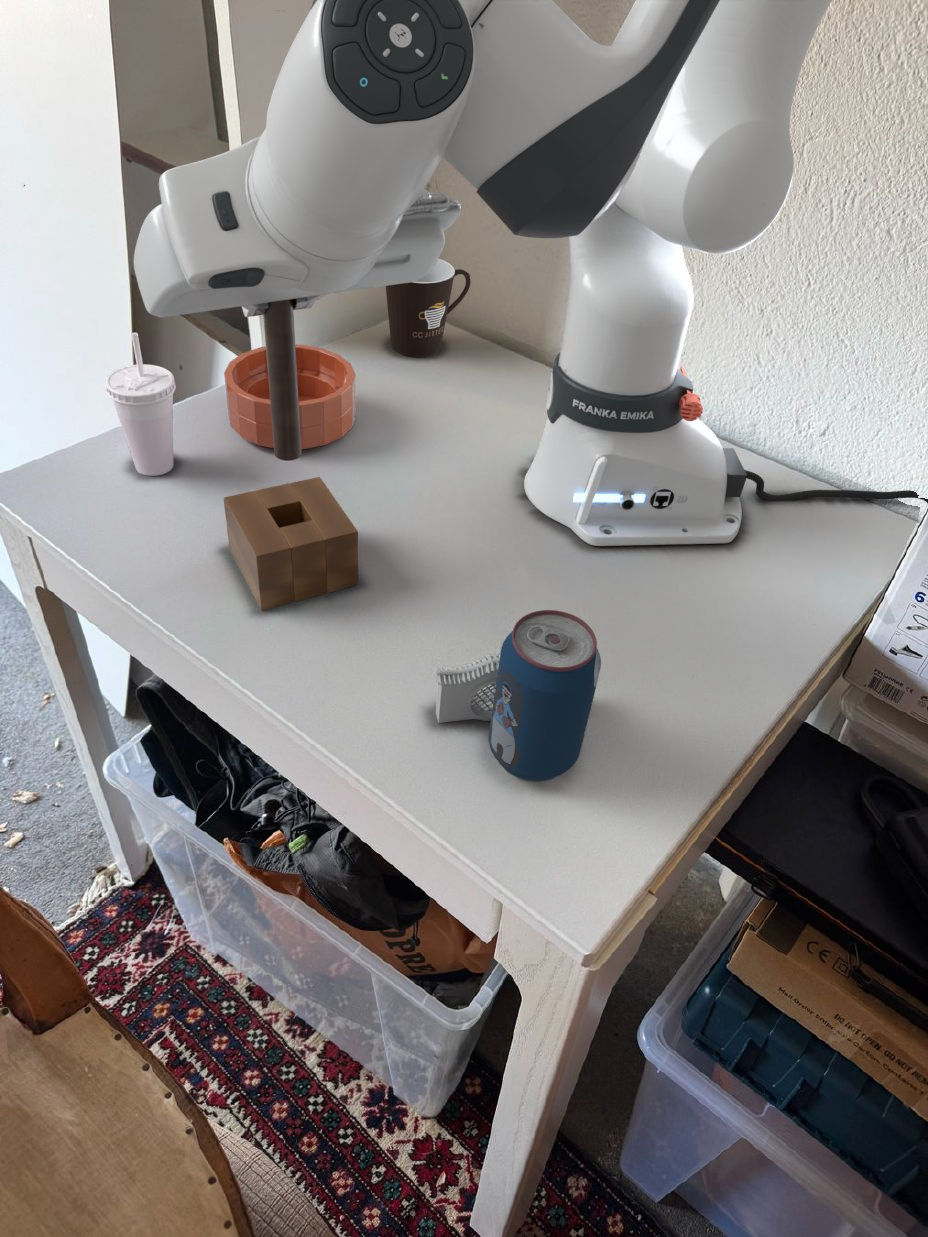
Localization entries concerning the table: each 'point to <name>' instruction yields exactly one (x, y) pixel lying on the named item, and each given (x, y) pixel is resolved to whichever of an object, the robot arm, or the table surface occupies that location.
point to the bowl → (319, 395)
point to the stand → (292, 542)
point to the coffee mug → (422, 310)
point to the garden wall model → (466, 690)
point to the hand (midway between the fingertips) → (274, 302)
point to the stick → (283, 379)
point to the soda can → (543, 695)
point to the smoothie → (145, 412)
